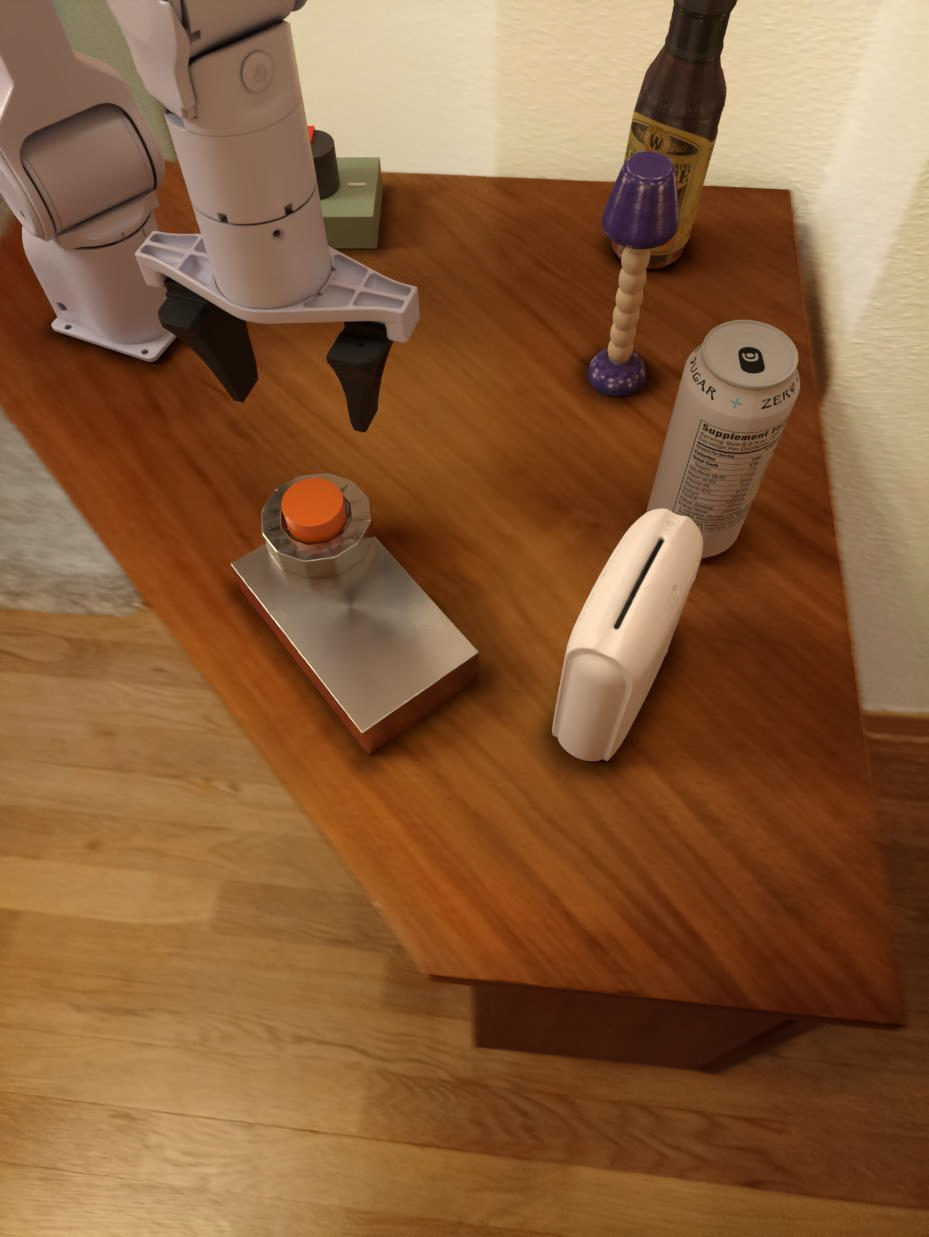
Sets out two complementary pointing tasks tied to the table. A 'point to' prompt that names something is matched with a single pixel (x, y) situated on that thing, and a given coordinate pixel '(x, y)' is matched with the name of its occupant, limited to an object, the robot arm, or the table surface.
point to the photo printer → (625, 633)
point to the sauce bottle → (683, 108)
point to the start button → (314, 510)
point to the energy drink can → (726, 427)
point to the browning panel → (354, 204)
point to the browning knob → (324, 162)
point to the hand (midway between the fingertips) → (305, 404)
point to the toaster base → (355, 621)
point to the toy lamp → (634, 261)
